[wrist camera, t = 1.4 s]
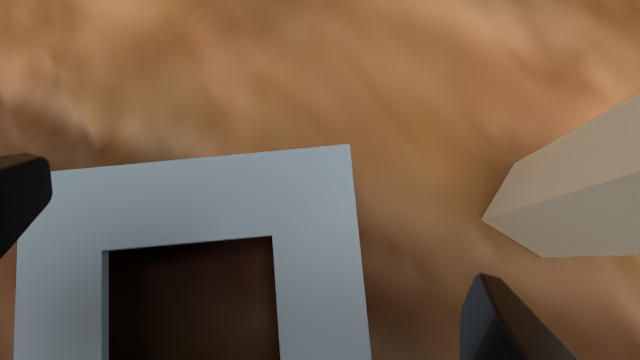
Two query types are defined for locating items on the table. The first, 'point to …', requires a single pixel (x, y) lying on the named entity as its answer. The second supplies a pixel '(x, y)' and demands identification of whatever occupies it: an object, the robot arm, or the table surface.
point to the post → (577, 191)
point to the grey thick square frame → (196, 227)
